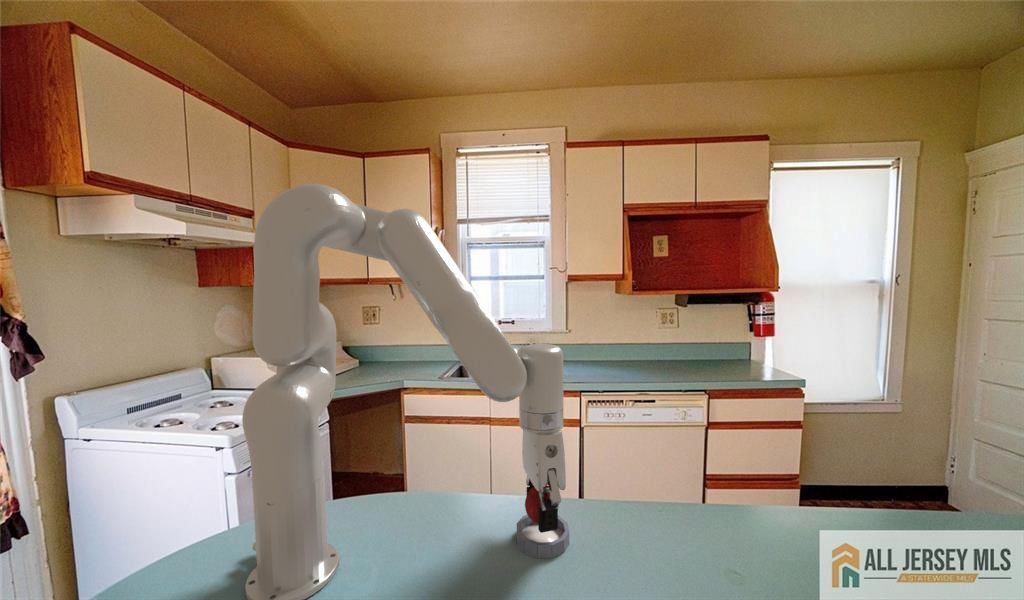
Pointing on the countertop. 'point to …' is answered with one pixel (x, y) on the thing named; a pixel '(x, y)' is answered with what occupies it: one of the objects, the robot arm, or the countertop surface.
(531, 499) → the onion
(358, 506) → the countertop surface
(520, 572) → the countertop surface
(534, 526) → the gray dish
